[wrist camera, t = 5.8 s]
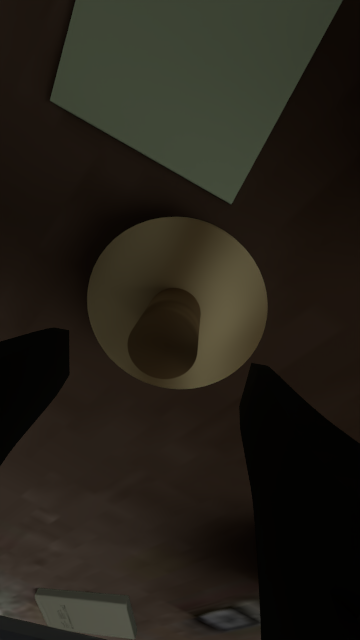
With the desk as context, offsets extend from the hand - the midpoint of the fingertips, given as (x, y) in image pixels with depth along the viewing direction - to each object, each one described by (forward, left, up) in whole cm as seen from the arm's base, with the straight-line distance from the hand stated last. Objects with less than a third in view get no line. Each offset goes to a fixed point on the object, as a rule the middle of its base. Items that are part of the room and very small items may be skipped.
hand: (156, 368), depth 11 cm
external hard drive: (-9, +45, -11) cm, 47 cm away
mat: (+6, -13, -10) cm, 17 cm away
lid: (0, 0, -7) cm, 7 cm away
